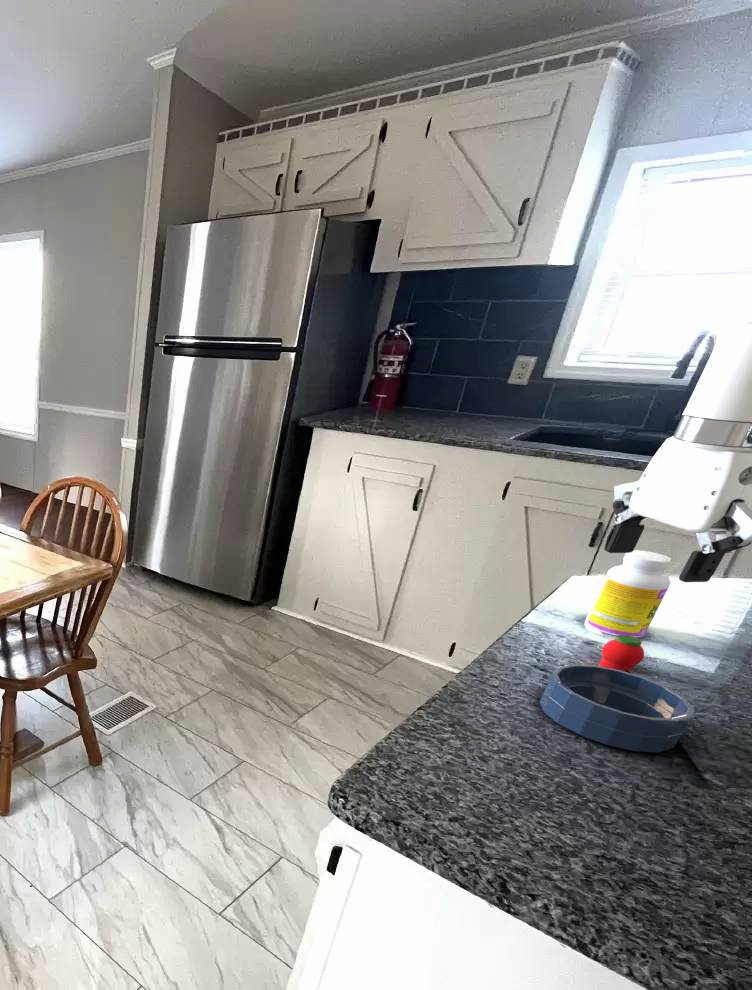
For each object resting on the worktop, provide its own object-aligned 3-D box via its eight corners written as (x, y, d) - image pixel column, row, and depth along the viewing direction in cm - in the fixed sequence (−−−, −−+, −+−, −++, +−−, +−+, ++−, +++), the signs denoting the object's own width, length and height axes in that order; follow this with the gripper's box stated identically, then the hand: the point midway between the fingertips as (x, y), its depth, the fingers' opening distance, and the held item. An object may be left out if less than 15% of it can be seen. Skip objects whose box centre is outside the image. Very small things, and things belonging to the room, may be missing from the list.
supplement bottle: (643, 647, 94) (683, 567, 88) (582, 634, 98) (618, 556, 92) (640, 631, 98) (679, 554, 93) (583, 619, 102) (617, 544, 97)
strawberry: (628, 667, 89) (644, 635, 87) (638, 680, 86) (655, 648, 84) (591, 660, 91) (605, 629, 89) (599, 673, 88) (614, 641, 86)
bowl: (652, 712, 79) (670, 679, 77) (691, 768, 70) (713, 732, 68) (529, 688, 85) (543, 656, 83) (550, 736, 76) (567, 702, 74)
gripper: (845, 448, 67) (758, 593, 75) (677, 419, 83) (619, 542, 90) (774, 449, 67) (694, 594, 75) (620, 420, 83) (566, 543, 90)
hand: (653, 565), depth 82 cm, fingers open, 9 cm apart
